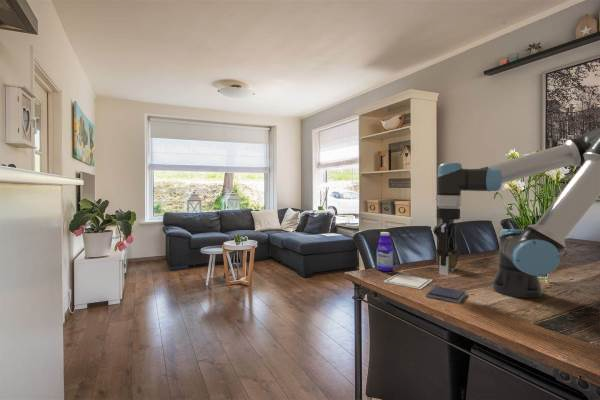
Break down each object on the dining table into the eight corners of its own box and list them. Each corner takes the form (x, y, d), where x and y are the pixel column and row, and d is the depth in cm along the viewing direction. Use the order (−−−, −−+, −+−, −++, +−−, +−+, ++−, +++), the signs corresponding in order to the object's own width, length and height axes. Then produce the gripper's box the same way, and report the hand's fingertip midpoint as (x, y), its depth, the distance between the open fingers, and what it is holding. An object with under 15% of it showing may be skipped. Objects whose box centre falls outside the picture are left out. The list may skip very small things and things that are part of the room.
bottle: (374, 270, 153) (375, 232, 152) (379, 267, 158) (379, 231, 157) (390, 272, 149) (390, 233, 148) (394, 269, 153) (395, 232, 153)
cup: (460, 276, 113) (461, 253, 113) (437, 275, 114) (438, 252, 114) (454, 271, 120) (455, 249, 120) (433, 269, 122) (433, 248, 121)
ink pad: (466, 294, 119) (467, 291, 119) (459, 303, 110) (459, 299, 110) (435, 288, 125) (435, 285, 125) (425, 296, 117) (425, 292, 117)
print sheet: (432, 280, 136) (432, 279, 136) (420, 289, 125) (420, 288, 125) (397, 274, 146) (397, 273, 146) (383, 282, 134) (383, 281, 134)
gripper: (444, 205, 126) (443, 265, 127) (428, 208, 111) (426, 276, 112) (466, 206, 122) (464, 268, 123) (452, 209, 106) (450, 280, 107)
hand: (446, 272), depth 117 cm, fingers closed on cup, 7 cm apart
